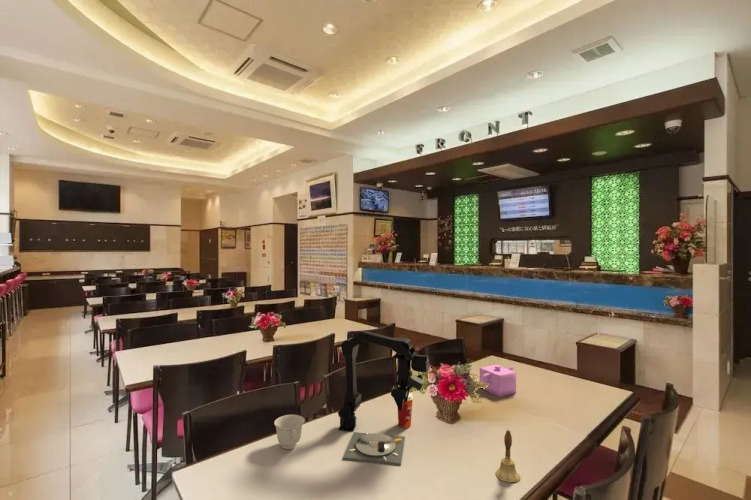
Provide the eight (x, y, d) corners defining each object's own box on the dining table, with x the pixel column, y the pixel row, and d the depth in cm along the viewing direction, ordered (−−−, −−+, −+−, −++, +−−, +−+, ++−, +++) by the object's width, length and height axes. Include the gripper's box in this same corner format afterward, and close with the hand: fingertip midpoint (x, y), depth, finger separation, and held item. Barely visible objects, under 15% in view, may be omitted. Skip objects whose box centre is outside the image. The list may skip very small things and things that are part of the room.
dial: (350, 439, 155) (350, 429, 155) (386, 433, 161) (386, 423, 161) (363, 460, 140) (363, 449, 140) (402, 452, 146) (402, 441, 146)
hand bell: (491, 469, 137) (492, 426, 137) (513, 468, 138) (514, 425, 138) (501, 483, 129) (501, 437, 129) (524, 482, 130) (525, 436, 130)
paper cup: (412, 429, 166) (412, 398, 166) (394, 428, 168) (395, 396, 168) (413, 421, 174) (414, 391, 174) (397, 420, 176) (397, 390, 176)
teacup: (279, 460, 142) (279, 433, 142) (270, 442, 155) (271, 417, 155) (310, 452, 147) (310, 427, 147) (299, 435, 160) (299, 412, 160)
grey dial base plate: (343, 459, 143) (343, 454, 143) (353, 433, 162) (353, 429, 162) (400, 465, 139) (400, 460, 139) (404, 438, 159) (404, 434, 159)
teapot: (524, 390, 214) (525, 366, 214) (492, 398, 202) (493, 372, 202) (504, 382, 227) (504, 359, 227) (472, 389, 216) (473, 364, 216)
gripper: (418, 379, 147) (417, 418, 147) (426, 364, 165) (426, 400, 165) (390, 375, 151) (390, 414, 151) (402, 362, 168) (401, 396, 169)
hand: (403, 406), depth 159 cm, fingers open, 9 cm apart
